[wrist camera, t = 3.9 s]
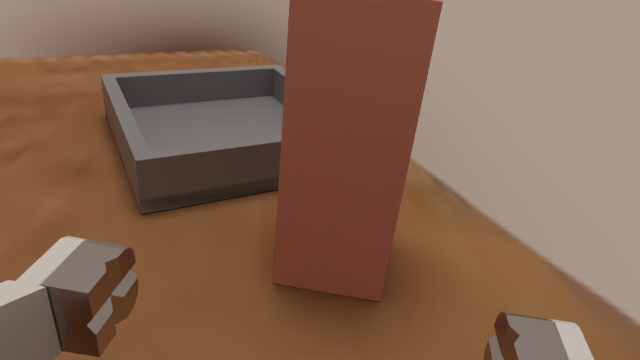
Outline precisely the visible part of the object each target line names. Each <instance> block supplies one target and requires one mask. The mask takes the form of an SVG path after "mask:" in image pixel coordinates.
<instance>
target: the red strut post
mask: <svg viewBox="0 0 640 360" xmlns="http://www.w3.org/2000/svg"><path fill="white" fill-rule="evenodd" d="M442 3H443V1H442V0H290V5H289V21H288V39H287V56H286V71H285V88H284V104H283V121H282V137H281V154H280V170H279V187H278V203H277V220H276V236H275V253H274V269H273V284H279V285H284V286H290V287H296V288H302V289H308V290H314V291H320V292H326V293H331V294H337V295H343V296H349V297H355V298H361V299H367V300H373V301H378V302H380V299H381V294H382V290H383V285H384V280H385V275H386V271H387V266H388V261H389V256H390V251H391V247H392V242H393V237H394V232H395V228H396V223H397V218H398V213H399V208H400V204H401V199H402V194H403V189H404V185H405V180H406V175H407V170H408V166H409V161H410V156H411V150H412V146H413V142H414V137H415V132H416V127H417V122H418V117H419V113H420V108H421V103H422V99H423V93H424V89H425V84H426V80H427V75H428V70H429V65H430V60H431V56H432V51H433V46H434V41H435V37H436V32H437V27H438V22H439V17H440V13H441V8H442Z"/></svg>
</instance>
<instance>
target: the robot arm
mask: <svg viewBox="0 0 640 360" xmlns="http://www.w3.org/2000/svg"><path fill="white" fill-rule="evenodd" d="M135 262H136V261H135V255H134V250H132V249H131V248H129V247H125V246H119V245H114V244H109V243H104V242H99V241H94V240H86V239H82V238H77V237H72V236H66V237H63V238H61V239H59V240H58V241H57V242H56V243H55V244H54V245H53V246H52V247H51V248H50V249H49V250H48V251H47V252H46V253H45V254H44V255H43V256H41V257H40V258H39V259H38V260H37V261H36V262H35V263H34V264H33V265H32V266H31V267H30V268H29V269H28V270H27V271H26V272H25V273H23V274H22V275H21V276H20V277H19V278H18V279H17V280H16V281H11V280H7V281H5V282H2V283H0V360H52V359H54V358H55V357H57V356H58V355H60V354H61V353H62V352H61V351H65V352H71V353H77V354H83V355H89V356H96V357H101V355H102V354H103V352H104V351H105V349H106V348H107V346H108V345H109V343H110V342H111V340H112V339H113V338H114V336H115V335H116V329H115V324H117V323H119V322H121V321H122V320H124V319H126V318H127V317H128V315H129V314H130V312H131V311H132V309H133V307H134V304H135V301H136V298H137V294H138V278H137V276H136V275H135V274H134V273H133V272H132V270H131V268H132V266H133V265H134V264H135ZM494 326H495V331H496V335H495V336H494V337H492V338H490V339H489V340H488V343H487V345H486V348H485V352H484V360H594V358H593V356H592V354H591V352H590V349H589V347H588V345H587V343H586V340H585V338H584V336H583V334H582V332H581V329H580V327H579V326H578V325H577V324H576V323H572V322H565V321H559V320H552V319H550V320H548V319H543V318H537V317H531V316H525V315H519V314H513V313H507V312H501V313H500V314H499V315H498V316H497V319H496V321H495V324H494Z"/></svg>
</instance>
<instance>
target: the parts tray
mask: <svg viewBox="0 0 640 360" xmlns="http://www.w3.org/2000/svg"><path fill="white" fill-rule="evenodd" d="M285 71H286V70H285V69H284V68H283V67H281V66H280V65H265V66H247V67H229V68H210V69H192V70H174V71H156V72H137V73H119V74H101V82H102V90H103V97H104V105H105V112H106V118H107V120H108V123H109V126H110V129H111V132H112V134H113V137H114V140H115V143H116V146H117V148H118V151H119V154H120V157H121V160H122V162H123V165H124V168H125V171H126V173H127V176H128V179H129V182H130V185H131V187H132V190H133V193H134V196H135V199H136V201H137V204H138V207H139V210H140V213H141V214H146V213H151V212H157V211H162V210H168V209H173V208H179V207H184V206H190V205H195V204H201V203H206V202H212V201H217V200H223V199H228V198H234V197H239V196H245V195H250V194H256V193H261V192H267V191H272V190H278V187H279V170H280V154H281V137H282V121H283V104H284V88H285Z"/></svg>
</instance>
